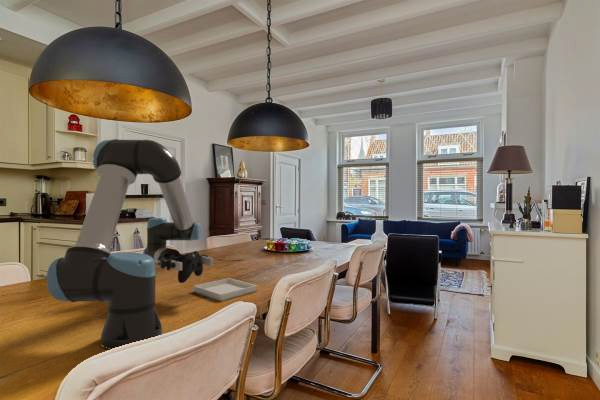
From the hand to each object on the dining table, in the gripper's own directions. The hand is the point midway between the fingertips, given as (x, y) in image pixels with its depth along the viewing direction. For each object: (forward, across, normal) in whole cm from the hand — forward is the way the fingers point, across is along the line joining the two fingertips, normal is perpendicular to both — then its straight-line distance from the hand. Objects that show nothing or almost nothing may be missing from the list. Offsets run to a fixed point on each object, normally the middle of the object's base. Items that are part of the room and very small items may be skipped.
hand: (197, 264), depth 120 cm
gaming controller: (-4, 0, -6) cm, 7 cm away
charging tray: (-8, -18, -15) cm, 25 cm away
